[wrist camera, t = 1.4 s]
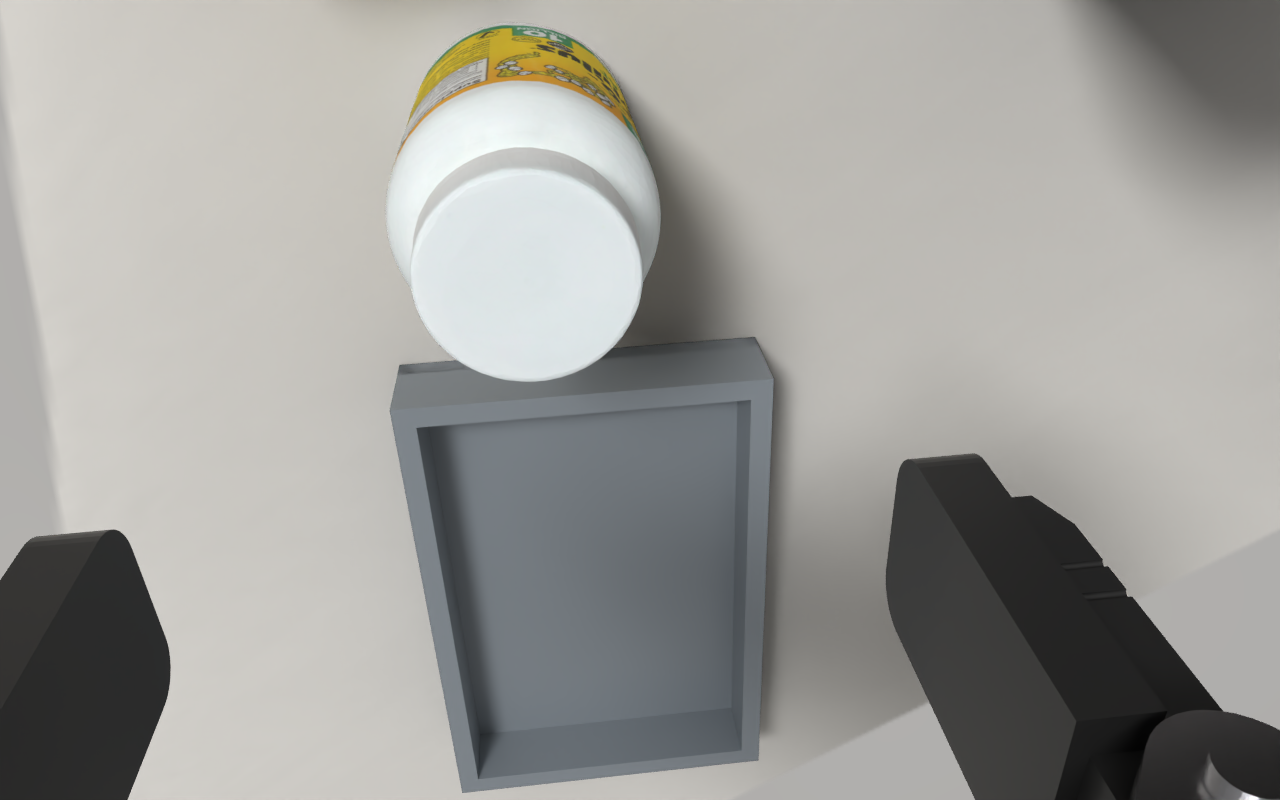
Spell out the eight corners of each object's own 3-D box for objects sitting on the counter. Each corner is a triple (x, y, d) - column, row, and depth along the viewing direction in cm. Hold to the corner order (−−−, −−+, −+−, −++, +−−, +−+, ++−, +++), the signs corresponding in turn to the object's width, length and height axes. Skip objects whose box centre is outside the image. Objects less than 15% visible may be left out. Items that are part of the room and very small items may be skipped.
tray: (754, 337, 29) (773, 378, 27) (744, 704, 36) (758, 760, 34) (399, 365, 28) (389, 410, 26) (465, 734, 36) (462, 793, 34)
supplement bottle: (369, 114, 24) (293, 263, 16) (533, -33, 23) (541, 48, 15) (515, 268, 27) (512, 466, 19) (671, 143, 26) (742, 297, 17)
